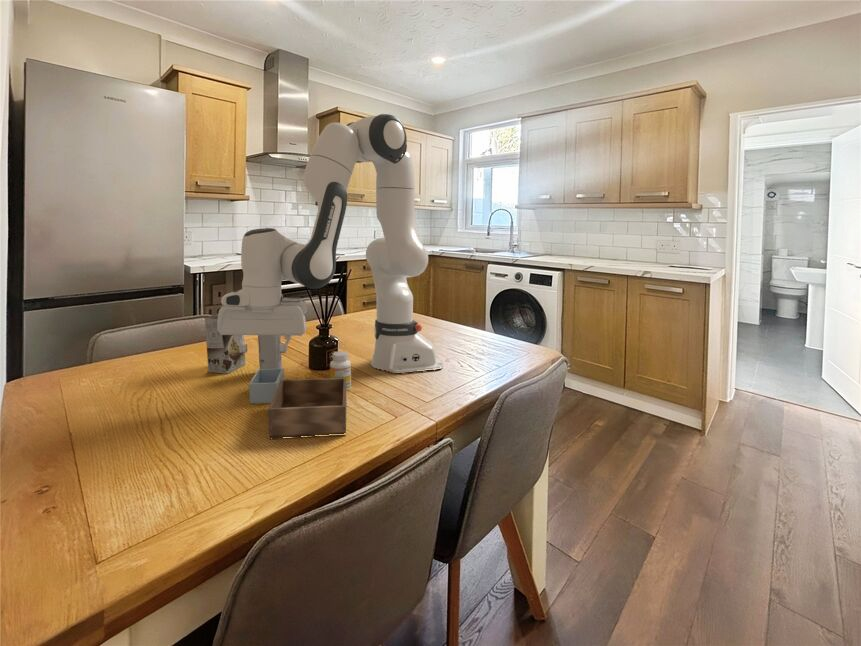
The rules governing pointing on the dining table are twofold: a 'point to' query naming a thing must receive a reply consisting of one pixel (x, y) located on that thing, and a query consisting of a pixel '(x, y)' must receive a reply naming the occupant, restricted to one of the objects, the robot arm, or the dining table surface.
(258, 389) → the small crate
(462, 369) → the dining table surface
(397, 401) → the dining table surface
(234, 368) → the coffee box
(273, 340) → the energy drink can
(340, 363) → the supplement bottle
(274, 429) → the large crate
